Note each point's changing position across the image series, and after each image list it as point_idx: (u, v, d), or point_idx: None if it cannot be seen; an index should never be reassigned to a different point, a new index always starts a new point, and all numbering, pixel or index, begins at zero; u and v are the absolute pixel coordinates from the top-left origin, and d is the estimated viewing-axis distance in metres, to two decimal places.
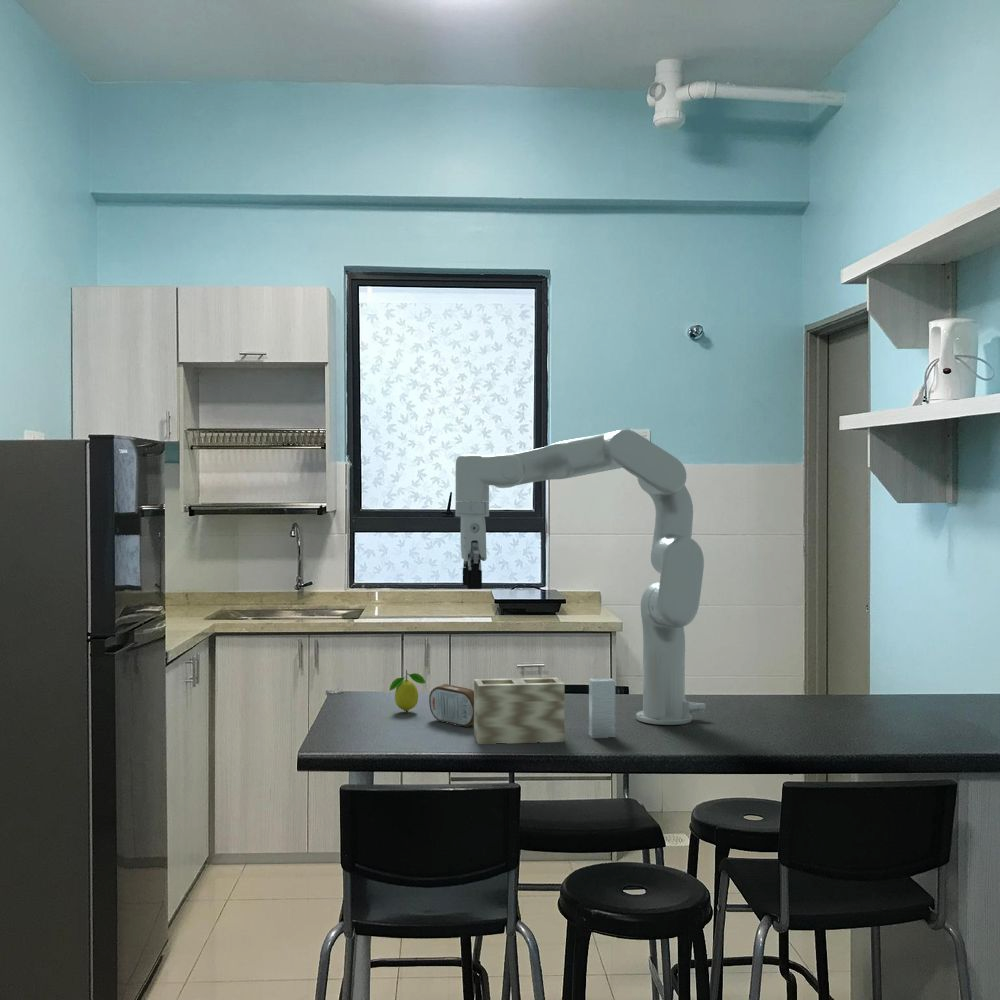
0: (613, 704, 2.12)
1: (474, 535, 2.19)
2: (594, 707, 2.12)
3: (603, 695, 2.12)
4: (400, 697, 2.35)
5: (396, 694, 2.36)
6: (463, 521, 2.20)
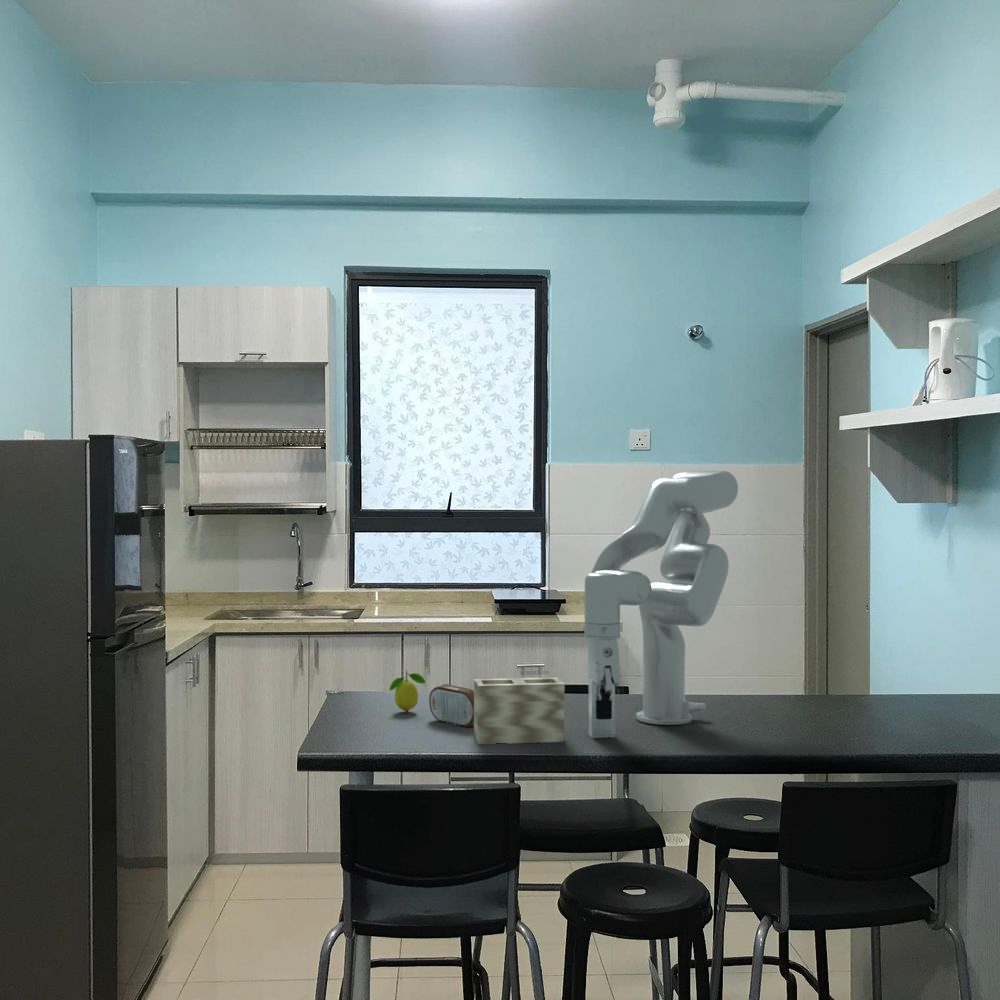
0: (613, 704, 2.12)
1: (607, 660, 2.09)
2: (594, 706, 2.12)
3: None
4: (400, 697, 2.35)
5: (396, 694, 2.36)
6: (595, 644, 2.10)
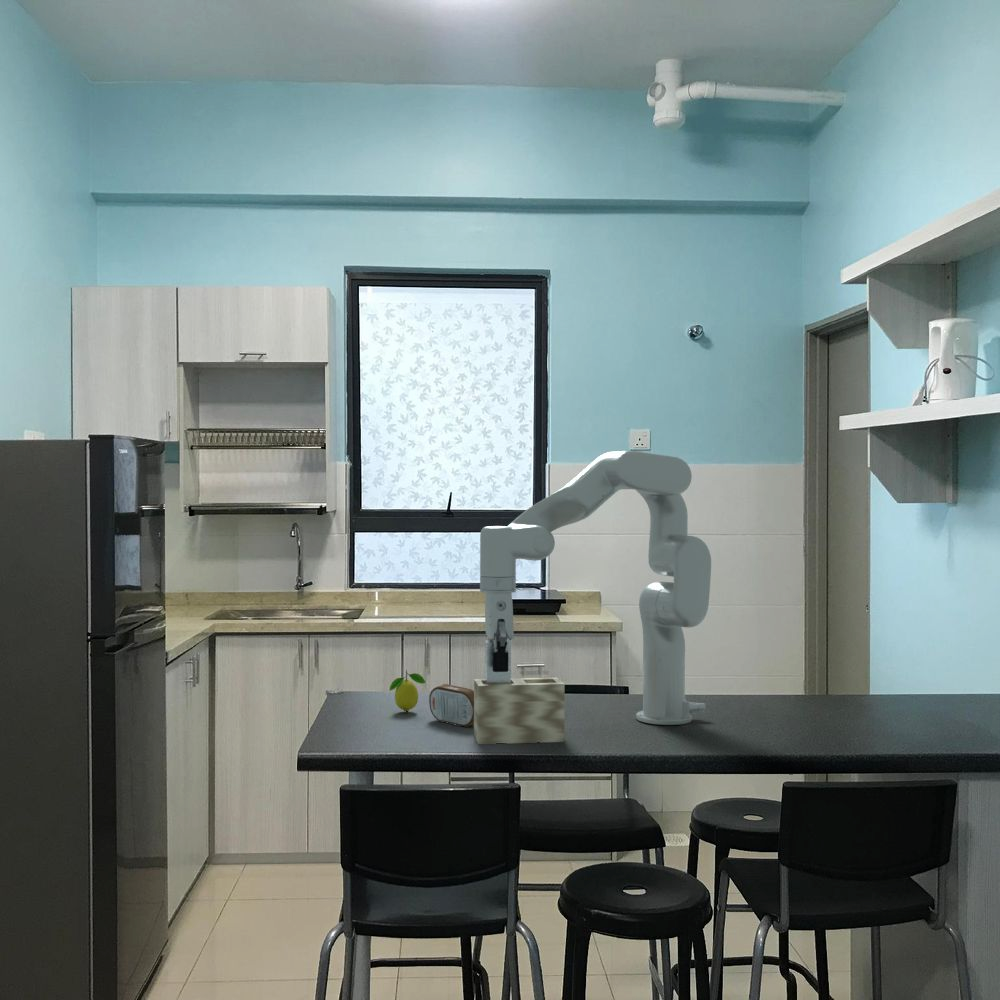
0: (508, 666, 2.09)
1: (500, 613, 2.05)
2: (489, 668, 2.09)
3: None
4: (400, 697, 2.35)
5: (396, 694, 2.36)
6: (489, 598, 2.07)
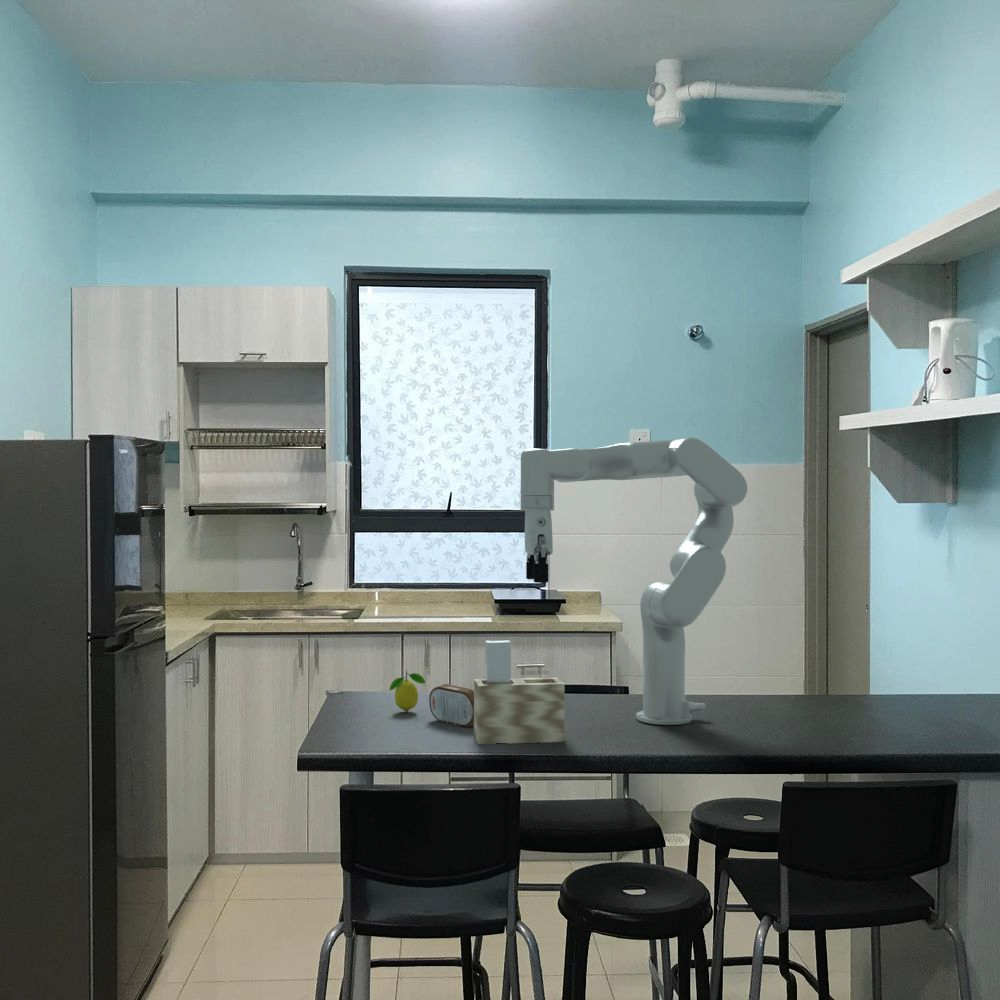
0: (508, 666, 2.09)
1: (541, 529, 2.19)
2: (489, 668, 2.09)
3: (498, 656, 2.09)
4: (400, 697, 2.35)
5: (396, 694, 2.36)
6: (529, 515, 2.21)
